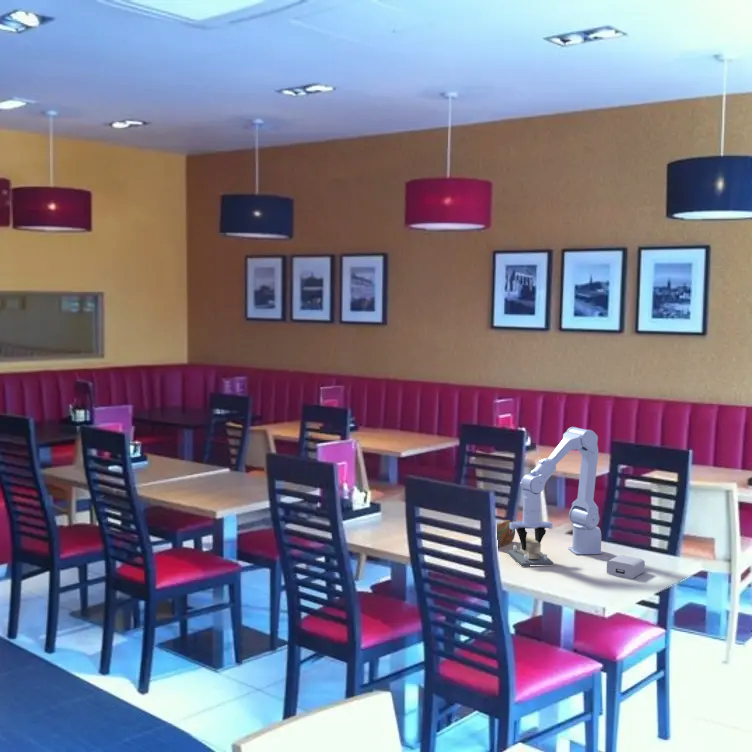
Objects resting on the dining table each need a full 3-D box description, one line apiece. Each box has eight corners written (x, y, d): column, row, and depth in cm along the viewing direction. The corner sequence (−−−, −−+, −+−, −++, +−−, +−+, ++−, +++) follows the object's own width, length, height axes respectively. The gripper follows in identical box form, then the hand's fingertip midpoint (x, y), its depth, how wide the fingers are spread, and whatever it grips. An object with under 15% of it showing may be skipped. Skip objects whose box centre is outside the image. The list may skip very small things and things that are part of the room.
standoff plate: (537, 552, 324) (538, 543, 324) (553, 565, 309) (553, 556, 308) (507, 553, 323) (507, 544, 322) (521, 566, 307) (521, 557, 307)
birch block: (531, 551, 320) (532, 537, 320) (540, 558, 311) (540, 544, 311) (520, 551, 319) (520, 537, 319) (528, 559, 310) (529, 544, 310)
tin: (495, 549, 328) (495, 526, 327) (487, 548, 330) (488, 524, 329) (515, 541, 340) (516, 518, 339) (508, 539, 342) (508, 517, 341)
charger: (651, 569, 307) (633, 579, 296) (624, 564, 313) (606, 574, 301) (652, 555, 307) (634, 565, 295) (625, 550, 313) (606, 559, 301)
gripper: (514, 513, 309) (513, 553, 310) (556, 512, 311) (554, 552, 312) (508, 508, 316) (506, 547, 317) (548, 507, 318) (547, 546, 319)
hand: (530, 549), depth 315 cm, fingers closed on birch block, 4 cm apart
